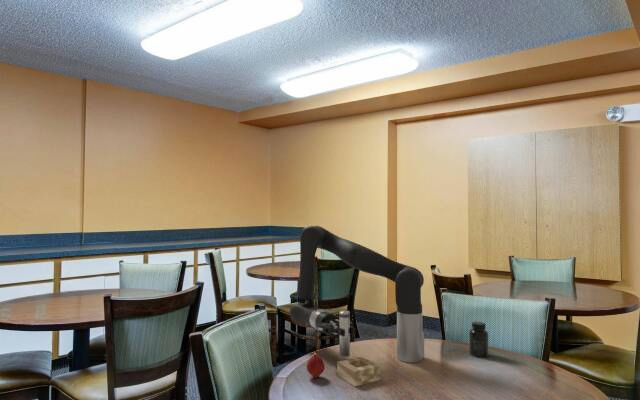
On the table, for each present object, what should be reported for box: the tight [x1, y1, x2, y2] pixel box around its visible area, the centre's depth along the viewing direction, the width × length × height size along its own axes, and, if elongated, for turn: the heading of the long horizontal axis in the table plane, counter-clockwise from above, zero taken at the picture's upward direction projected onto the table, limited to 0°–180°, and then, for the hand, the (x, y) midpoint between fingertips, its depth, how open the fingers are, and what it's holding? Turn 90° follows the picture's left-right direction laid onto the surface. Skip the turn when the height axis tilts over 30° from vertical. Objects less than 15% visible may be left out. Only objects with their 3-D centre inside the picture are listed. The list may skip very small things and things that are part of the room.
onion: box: [306, 352, 326, 379], centre depth 135 cm, size 6×6×8 cm
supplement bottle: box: [468, 321, 489, 358], centre depth 158 cm, size 7×7×12 cm
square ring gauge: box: [336, 356, 381, 387], centre depth 135 cm, size 10×10×4 cm
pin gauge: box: [338, 310, 351, 358], centre depth 145 cm, size 4×4×15 cm
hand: (349, 332), depth 142 cm, fingers closed on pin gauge, 3 cm apart
